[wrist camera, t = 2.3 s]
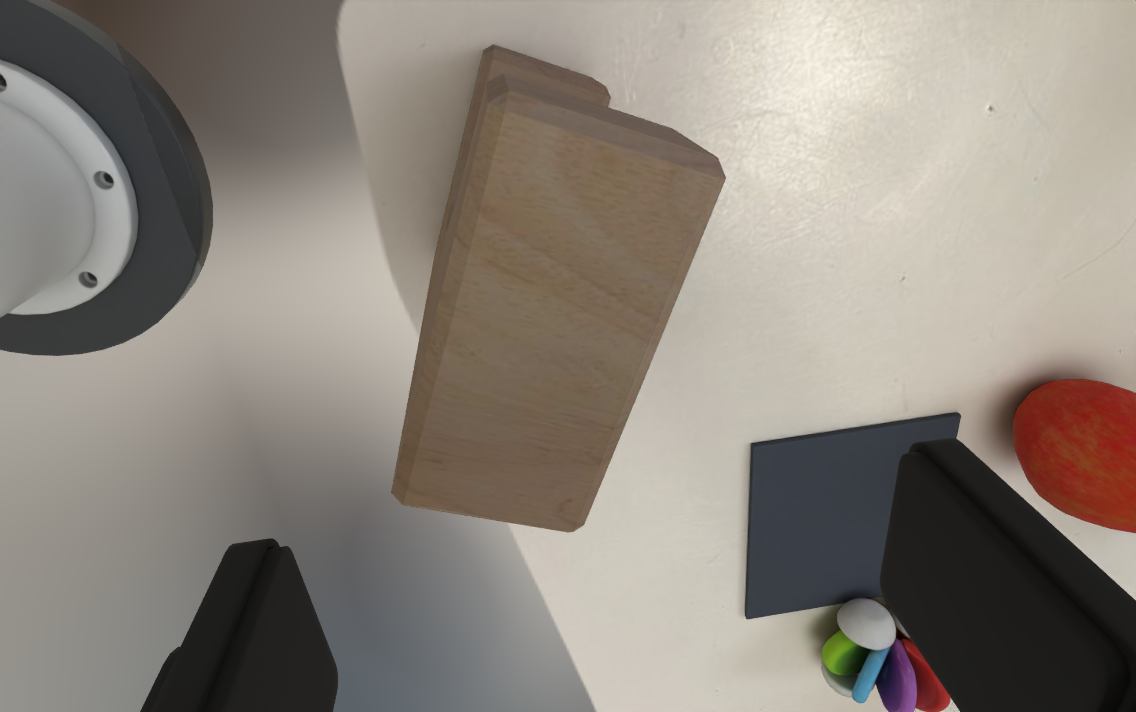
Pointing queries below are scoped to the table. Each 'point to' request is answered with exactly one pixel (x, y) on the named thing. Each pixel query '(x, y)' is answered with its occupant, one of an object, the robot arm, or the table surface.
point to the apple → (1081, 449)
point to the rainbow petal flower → (879, 661)
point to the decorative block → (546, 294)
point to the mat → (825, 513)
